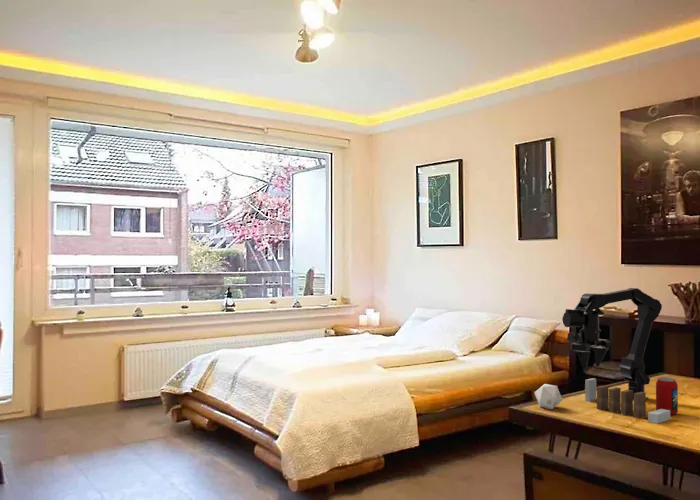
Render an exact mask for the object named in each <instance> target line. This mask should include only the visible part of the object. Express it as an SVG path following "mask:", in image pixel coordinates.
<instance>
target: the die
mask: <svg viewBox="0 0 700 500" xmlns="http://www.w3.org/2000/svg"><path fill="white" fill-rule="evenodd" d="M558 387H559V386H558V385H553V384H548V383H544V384H543V385H542V386H540V387H539V388H538V389H537V390H536V391H533V392H534V396H535V398H536V401H537V403H538V405H539V407H541V408H544V409H547V410H553V409H554V408H556V407H557V406H558V405H559V404H560V403H561V402H563V398H562V395H561V393H560V391H559V390H560V389H559V388H558Z"/></svg>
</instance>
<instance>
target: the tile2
mask: <svg viewBox="0 0 700 500" xmlns="http://www.w3.org/2000/svg"><path fill="white" fill-rule="evenodd" d="M621 389H622V388H621V387H616V386H615V387H612V388H609V408H608V412H609V413H611V412H614V413H618V412H621ZM617 411H618V412H617Z"/></svg>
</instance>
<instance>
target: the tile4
mask: <svg viewBox="0 0 700 500" xmlns="http://www.w3.org/2000/svg"><path fill="white" fill-rule="evenodd" d="M646 397H647V396H646V392H638V393H634V399H633V418H636V419H640V418H644V417H646V416H647V414H646V409H647V408H646V405H647V403H646V402H647V401H646V400H647V399H646Z"/></svg>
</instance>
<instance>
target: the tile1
mask: <svg viewBox="0 0 700 500" xmlns="http://www.w3.org/2000/svg"><path fill="white" fill-rule="evenodd" d="M609 389H610V388H609V385H600V386H596V410H597V409H599V410H598V411H604V410H606V409H607V408H608V409H609ZM603 409H604V410H603ZM608 409H607V410H608Z"/></svg>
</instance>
